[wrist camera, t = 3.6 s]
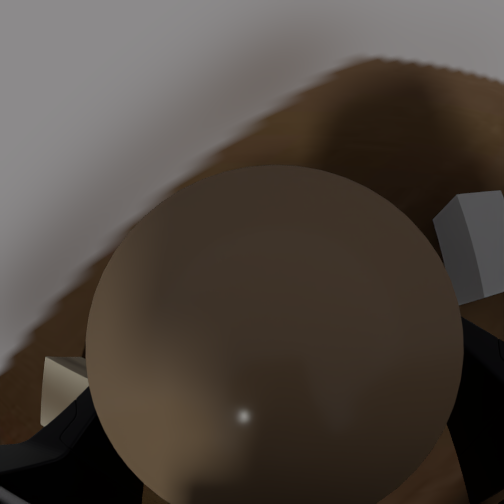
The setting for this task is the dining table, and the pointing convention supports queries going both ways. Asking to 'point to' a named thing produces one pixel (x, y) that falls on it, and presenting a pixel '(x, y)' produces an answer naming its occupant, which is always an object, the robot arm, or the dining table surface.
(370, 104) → the dining table surface
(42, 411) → the birch block
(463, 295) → the grey block
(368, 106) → the dining table surface
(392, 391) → the ceramic jar
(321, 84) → the dining table surface
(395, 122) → the dining table surface
